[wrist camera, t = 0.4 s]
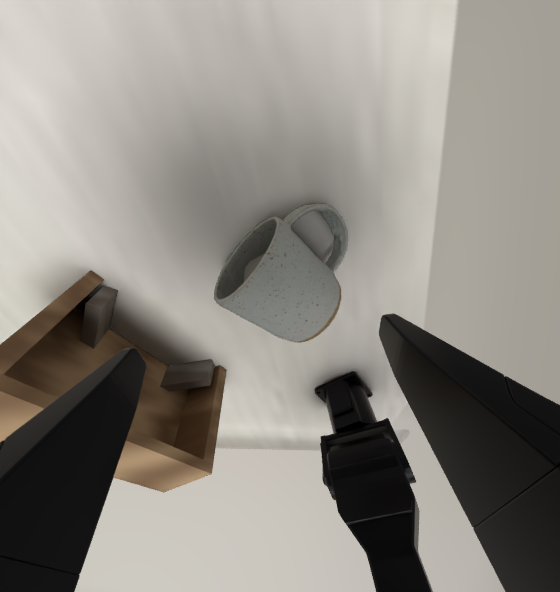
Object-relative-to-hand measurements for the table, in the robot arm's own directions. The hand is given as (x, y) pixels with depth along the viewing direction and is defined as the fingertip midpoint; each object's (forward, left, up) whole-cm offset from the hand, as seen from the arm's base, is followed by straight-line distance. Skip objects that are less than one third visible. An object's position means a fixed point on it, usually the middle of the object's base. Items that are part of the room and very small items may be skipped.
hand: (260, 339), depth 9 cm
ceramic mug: (-4, 0, -14) cm, 14 cm away
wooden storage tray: (-4, +18, -14) cm, 23 cm away
